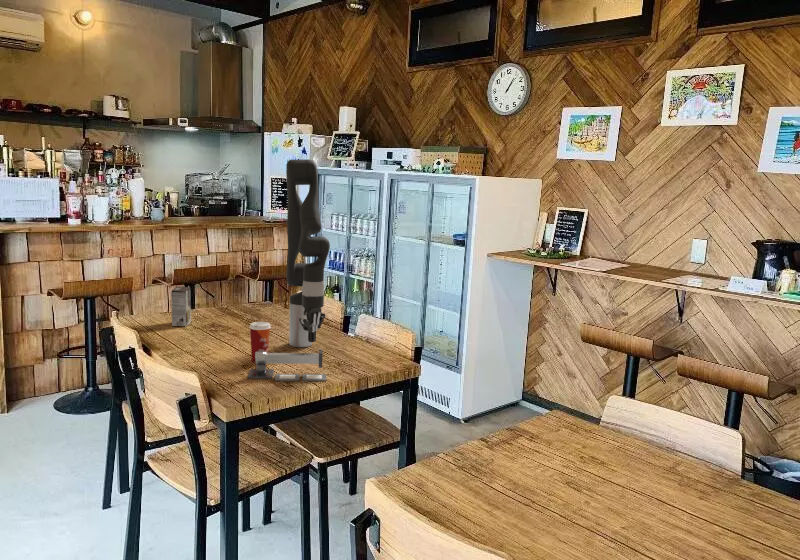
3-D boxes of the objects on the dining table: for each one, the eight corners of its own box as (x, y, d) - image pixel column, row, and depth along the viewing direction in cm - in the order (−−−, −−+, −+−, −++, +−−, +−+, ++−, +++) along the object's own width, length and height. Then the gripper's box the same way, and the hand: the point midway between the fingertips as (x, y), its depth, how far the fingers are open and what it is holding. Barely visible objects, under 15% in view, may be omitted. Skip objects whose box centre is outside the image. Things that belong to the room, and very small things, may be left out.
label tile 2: (302, 375, 210) (302, 373, 209) (325, 375, 211) (326, 373, 211) (302, 381, 204) (302, 379, 204) (326, 381, 205) (326, 379, 205)
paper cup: (265, 364, 219) (265, 327, 216) (245, 362, 220) (245, 325, 218) (273, 358, 226) (274, 322, 224) (254, 356, 228) (254, 320, 225)
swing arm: (254, 367, 204) (254, 353, 204) (256, 362, 209) (256, 348, 208) (322, 367, 207) (322, 353, 207) (322, 363, 212) (322, 349, 211)
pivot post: (250, 371, 211) (250, 359, 210) (273, 371, 212) (274, 359, 211) (247, 378, 203) (247, 366, 203) (272, 378, 204) (272, 366, 204)
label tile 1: (276, 375, 208) (276, 373, 208) (299, 375, 209) (299, 373, 209) (274, 380, 202) (274, 379, 202) (299, 381, 204) (299, 379, 203)
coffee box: (176, 321, 273) (176, 286, 270) (191, 322, 274) (191, 286, 271) (171, 326, 264) (170, 290, 261) (186, 327, 265) (186, 290, 262)
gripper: (315, 289, 220) (314, 336, 222) (292, 294, 208) (291, 343, 211) (332, 292, 216) (331, 339, 219) (310, 297, 205) (309, 347, 207)
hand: (311, 341), depth 215 cm, fingers closed
